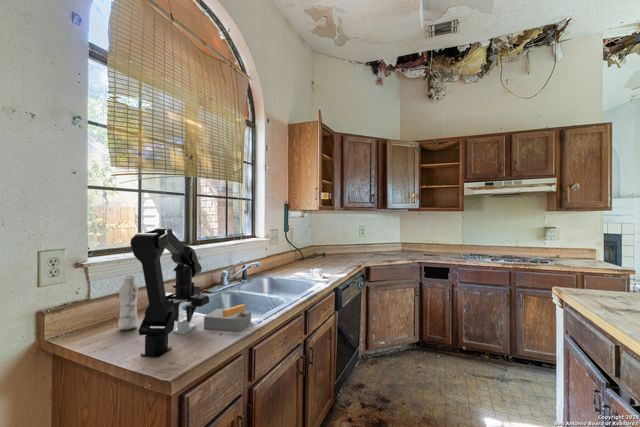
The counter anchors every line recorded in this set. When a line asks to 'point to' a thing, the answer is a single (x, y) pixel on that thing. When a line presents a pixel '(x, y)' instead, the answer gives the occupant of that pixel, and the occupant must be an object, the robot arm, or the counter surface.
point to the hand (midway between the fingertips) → (183, 321)
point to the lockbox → (226, 321)
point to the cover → (183, 326)
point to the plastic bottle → (128, 304)
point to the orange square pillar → (234, 310)
